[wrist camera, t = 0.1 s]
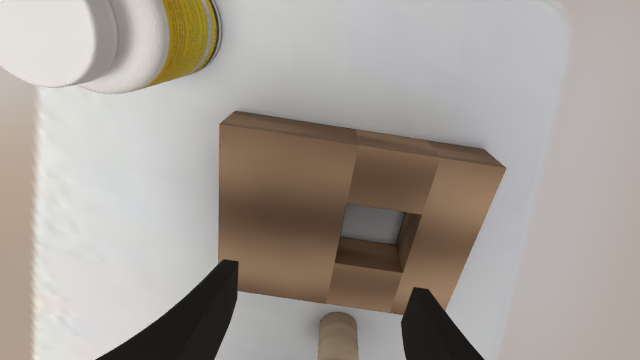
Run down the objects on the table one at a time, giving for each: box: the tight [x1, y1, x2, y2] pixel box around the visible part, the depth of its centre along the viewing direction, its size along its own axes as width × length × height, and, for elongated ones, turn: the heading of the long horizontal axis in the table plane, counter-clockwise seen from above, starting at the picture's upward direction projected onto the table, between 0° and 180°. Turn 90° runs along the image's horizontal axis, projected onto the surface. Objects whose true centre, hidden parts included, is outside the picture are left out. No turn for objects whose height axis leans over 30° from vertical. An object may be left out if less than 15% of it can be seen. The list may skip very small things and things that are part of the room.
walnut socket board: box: [218, 111, 506, 315], centre depth 22 cm, size 12×16×3 cm
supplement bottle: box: [0, 0, 221, 94], centre depth 14 cm, size 5×5×10 cm
